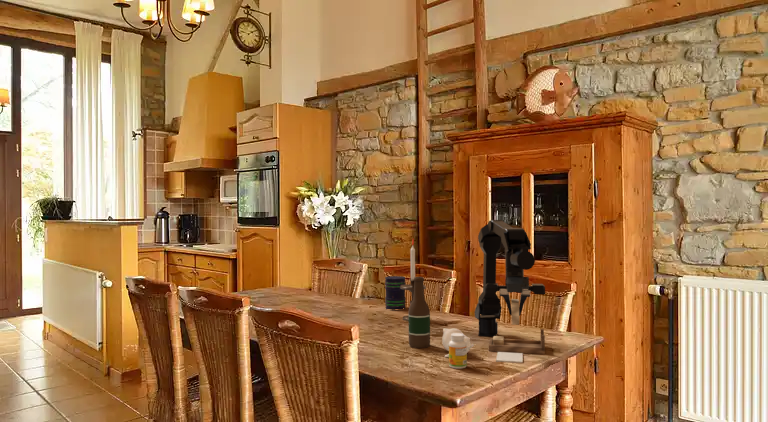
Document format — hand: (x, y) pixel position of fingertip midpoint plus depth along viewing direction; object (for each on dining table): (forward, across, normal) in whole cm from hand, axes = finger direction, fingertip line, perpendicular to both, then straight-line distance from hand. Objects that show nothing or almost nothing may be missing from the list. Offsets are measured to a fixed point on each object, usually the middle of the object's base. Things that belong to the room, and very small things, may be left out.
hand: (515, 315), depth 178 cm
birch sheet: (+2, 0, 0) cm, 2 cm away
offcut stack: (+12, -6, +10) cm, 16 cm away
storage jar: (+11, -56, +75) cm, 94 cm away
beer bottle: (+13, -33, +7) cm, 36 cm away
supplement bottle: (+14, -17, -15) cm, 27 cm away
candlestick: (+12, -43, +51) cm, 68 cm away
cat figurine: (+13, -20, -1) cm, 24 cm away
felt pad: (+13, -2, -3) cm, 13 cm away
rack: (+13, 0, +9) cm, 16 cm away
